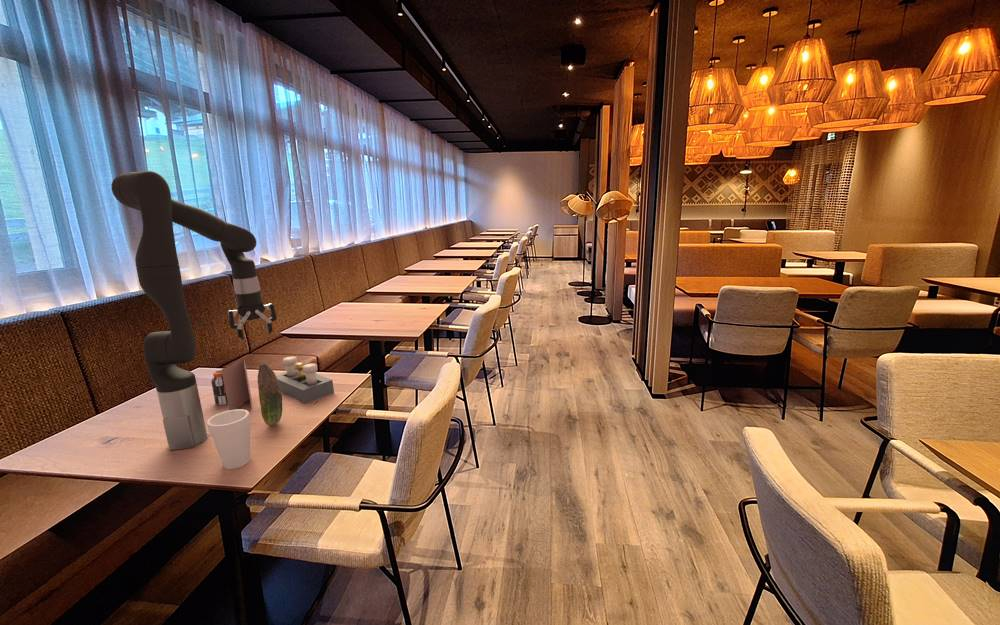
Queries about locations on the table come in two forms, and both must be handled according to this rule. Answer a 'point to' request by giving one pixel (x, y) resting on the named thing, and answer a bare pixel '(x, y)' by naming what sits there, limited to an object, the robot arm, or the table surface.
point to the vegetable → (269, 395)
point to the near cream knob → (310, 373)
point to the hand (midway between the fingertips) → (256, 336)
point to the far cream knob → (290, 366)
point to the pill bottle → (219, 388)
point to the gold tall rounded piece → (300, 370)
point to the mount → (305, 388)
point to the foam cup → (231, 437)
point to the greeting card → (236, 384)
